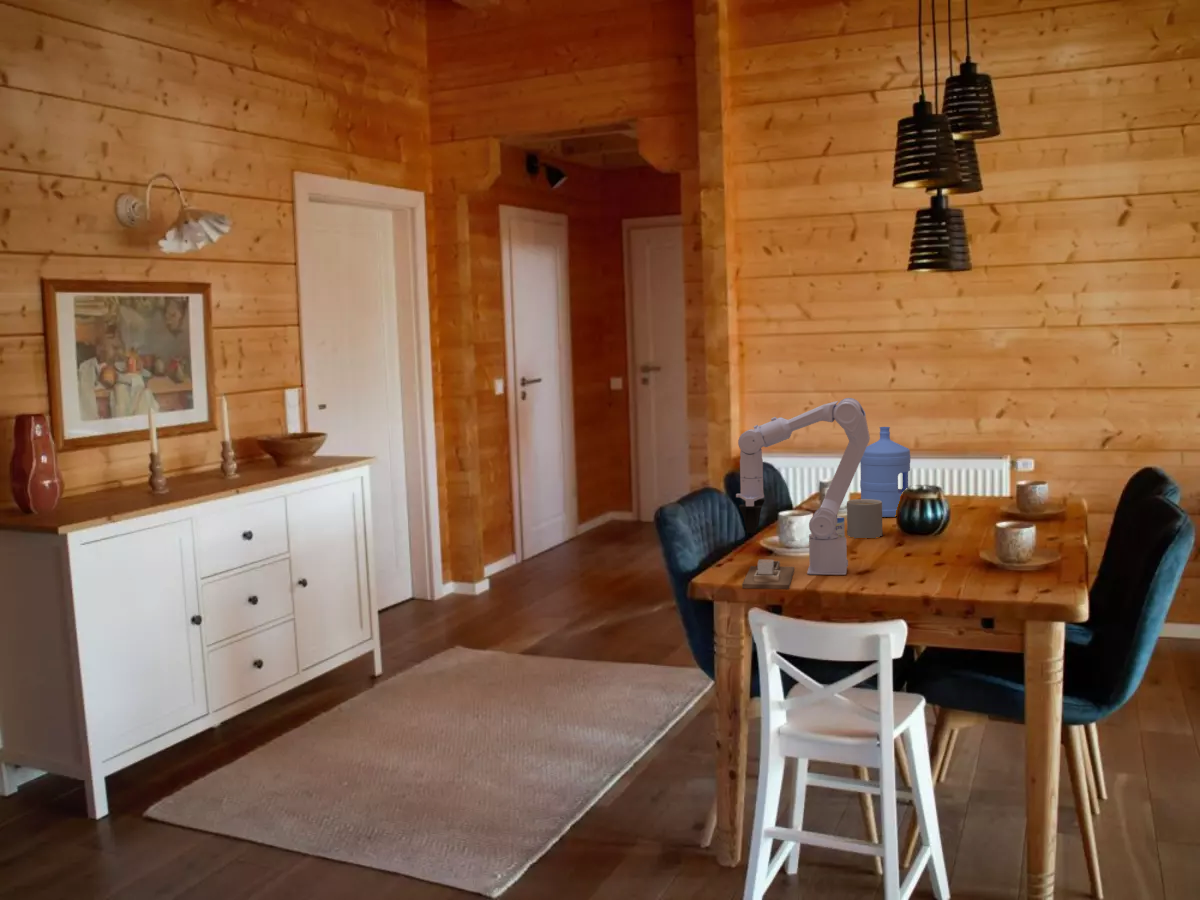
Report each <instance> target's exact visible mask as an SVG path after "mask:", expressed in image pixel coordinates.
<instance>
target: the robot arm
mask: <svg viewBox="0 0 1200 900" xmlns="http://www.w3.org/2000/svg"><path fill="white" fill-rule="evenodd" d="M770 420H771V421H768V422H765V423H764V424H761V425H758V424H756V425H754V426H753V428H752V429H748V430H745V431H744V432H742V433H741V434H740V436H739V437H738V441H737V445H738V448H739V449H740V453H739V456H740V459H739V470H740V471H739V473H740V474H739V476H740V480H739V481H740V493H736V494H735V498H740V499H742V503H743V504H739V506H738V507H739V510H740V512H741V514H742V516H743V520H744V524H745V529H746V533H747V534H750V533H751V534H755V533H756V532H757V528H758V527H759V523H760V519H761V512H762V508H763V505H764V502H765V501H766V498H765V494H764V469H763V468H764V462H763V452H762V451H763V449H762V448H763V447H764V448H768V447H771V446H773V445H776V444H778V443H781V442H783V441H784V442H785V441H786V440H788V439H790V438H791V436H792V433H793V432H794V431H797V430H799V429H802V428H805V427H809V426H811V425H814V424H816V423H819V422H822V421H823V422H828V423H833V422H834V421H835V422H836V423H837V424H838V425H839V426H840V427H841V428H842V429H843V430H844V433H845V435H846V437H847V439H848V444H847V446H846V448H845V450H844V452H843V455H842V457H841V459H840V461H839V464H838V466H837V468H836V471H835V473H834V476H833V478H832V480H831V482H830V485H829V486H828V489H827V491H826V493H825V496H824V499H823V500H822V503H821V505H820V507H819V508H818V509H817V510H815V512H814V513H813V514H812V516H811V518H810V520H809V522H808V529H809V531H810V534H808V544H809V545H808V547H809V551H808V552H809V553H808V554H809V556H808V557H809V566H808V569H807V572H806V573H807V575H827V576H828V575H830V576H831V575H832V576H833V575H836V576H838V575H839V576H841V575H842V576H843V575H844V576H845V575H847V571H848V569H847V568H848V567H849V559H847V557H848V555H847V537H846V536H845V537H838V533H837V532H836V531H835V530H834V529H835V527H836V525H837V516H838V512H839V510H840V508H841V506H842V504H843V502H844V500H845V497H846V494H847V492H848V490H849V488H850V486H851V483H852V482H853V478H854V476H855V474H856V472H857V469H858V467H859V466H860V464H861V463H860V461H861V459H862V456H863V454H864V452H865V450H866V447H867V446H869V442H870V439H871V437H870V432H869V427H868V422H867V421H868V420H867V415H866V411H865V410H864V408H863V407H862V404H861V403H860V401H858V400H857V399H855V398H852V397H845V398H844V399H841V400H840V401H839V400H836V401H832V402H828V403H823V404H822V405H819V406H817V407H815V408H812V409H809V410H807V411H805V412H803V413H800V414H799V415H796V416H794V417H792V418H790V419H786V418H784V417H778V418H777V416H774V417H771V419H770Z"/></svg>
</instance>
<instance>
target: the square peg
mask: <svg viewBox="0 0 1200 900" xmlns="http://www.w3.org/2000/svg"><path fill="white" fill-rule="evenodd" d="M773 561H774V559H759V558H758V561H757V566H758V575H766V576H774V564H773Z"/></svg>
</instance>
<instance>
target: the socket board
mask: <svg viewBox="0 0 1200 900" xmlns="http://www.w3.org/2000/svg"><path fill="white" fill-rule="evenodd" d="M773 564H774V576H766V575H758V565H750V567H749V569H748V571H747V573H746V575H745V578H744V579H743V582H742V584H741V585H742V589H763V590H764V589H766V590H767V589H768V590H769V589H770V590H771V589H772V590H777V589H778V590H789V589H790V586H791V583H792V580H793V577H792V576H794V573H795V566H781V561H780V560H773Z"/></svg>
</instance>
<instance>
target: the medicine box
mask: <svg viewBox="0 0 1200 900" xmlns="http://www.w3.org/2000/svg"><path fill="white" fill-rule="evenodd" d="M834 530H835V531H836V532H837V533H838V537H845V538H846V536H845V533H846V532H845V517H842V516H841V515H837V525H836V527H835V529H834Z"/></svg>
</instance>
